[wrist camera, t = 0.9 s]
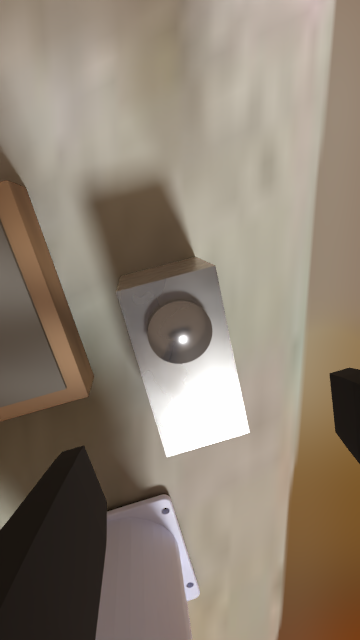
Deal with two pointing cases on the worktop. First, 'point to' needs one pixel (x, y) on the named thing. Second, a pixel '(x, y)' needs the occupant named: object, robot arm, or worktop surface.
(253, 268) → the worktop surface
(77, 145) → the worktop surface
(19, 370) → the stand
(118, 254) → the worktop surface
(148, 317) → the housing
